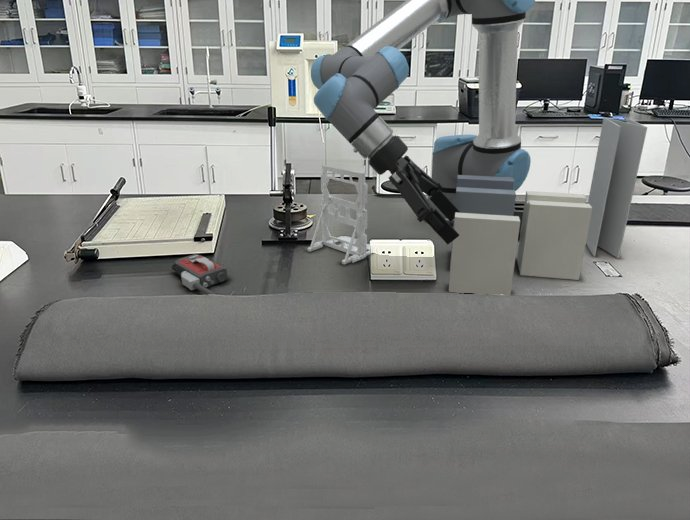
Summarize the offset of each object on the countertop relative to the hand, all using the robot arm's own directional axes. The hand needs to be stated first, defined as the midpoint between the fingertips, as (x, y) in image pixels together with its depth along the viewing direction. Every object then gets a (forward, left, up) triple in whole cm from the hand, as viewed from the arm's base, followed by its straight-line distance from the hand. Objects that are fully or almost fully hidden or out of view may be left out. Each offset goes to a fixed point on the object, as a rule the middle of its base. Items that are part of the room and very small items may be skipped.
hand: (454, 227), depth 103 cm
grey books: (-6, +15, -13) cm, 21 cm away
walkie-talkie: (-32, -39, -13) cm, 53 cm away
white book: (+4, +4, -13) cm, 15 cm away
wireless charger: (-15, +43, -13) cm, 47 cm away
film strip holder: (-30, -4, -13) cm, 33 cm away
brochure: (+5, +48, -13) cm, 50 cm away
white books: (+5, +25, -13) cm, 29 cm away
